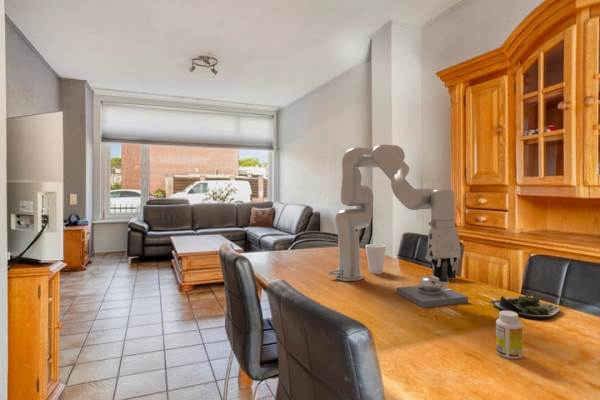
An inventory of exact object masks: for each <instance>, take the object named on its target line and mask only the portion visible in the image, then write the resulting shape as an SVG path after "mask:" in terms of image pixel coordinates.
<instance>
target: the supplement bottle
mask: <svg viewBox="0 0 600 400" xmlns="http://www.w3.org/2000/svg"><path fill="white" fill-rule="evenodd" d="M498 317H499V318H497V319H496V320H495V347H496V348H495V349H496V350H495V351H496V353H497V354H498V355H499V356H501V357H502V358H506V359H510V360H511V359H512V360H518V359H521V358H522V357H523V324H522V321H519V317H518V314H517V313H515V312H512V311H500V310H499V316H498Z"/></svg>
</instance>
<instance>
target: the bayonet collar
mask: <svg viewBox="0 0 600 400" xmlns="http://www.w3.org/2000/svg"><path fill="white" fill-rule="evenodd" d="M440 267H442V278H438V277H435V276H433V274H432V275H431V274H429V275H427V276H425V275H424V276H421V277H420V278H419V280H420V281H419V283H420V284H419V285H420V287H418V289H420V290H423V291H427V292H438V291H440V288H442V286H450V282H449V279H448V258H441V264H440Z"/></svg>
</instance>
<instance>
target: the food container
mask: <svg viewBox="0 0 600 400" xmlns="http://www.w3.org/2000/svg"><path fill="white" fill-rule="evenodd" d="M431 257H432V258H433V256H431ZM459 261H460V258H458V259H457V260H456V261H455V263H454V265H453V266H452V277H448V280H451V279H453V280H456V278H457V267H458V262H459ZM431 268H432V269H431V270H432V275H433V276H435V274H434V265H433V264H432V263H431Z"/></svg>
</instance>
